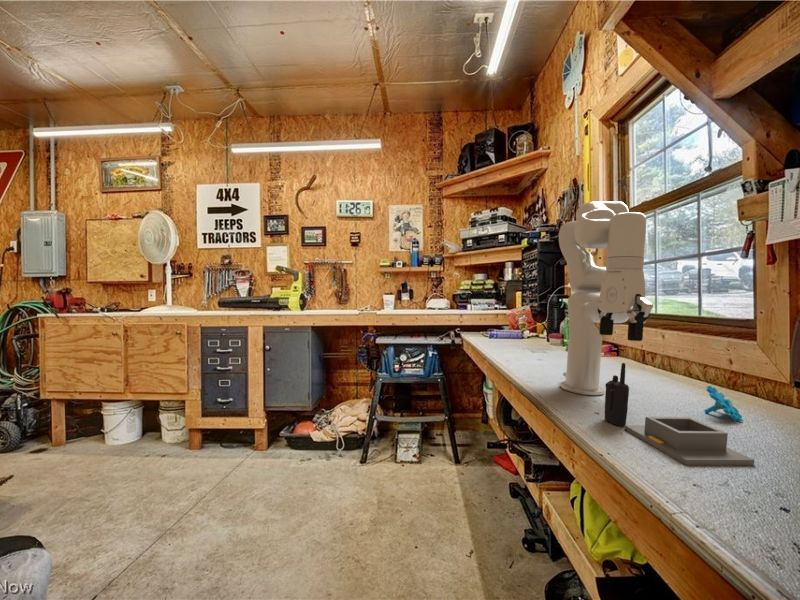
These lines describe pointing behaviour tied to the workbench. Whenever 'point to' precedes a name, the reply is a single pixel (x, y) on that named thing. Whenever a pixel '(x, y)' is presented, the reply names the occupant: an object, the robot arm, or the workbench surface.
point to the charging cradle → (689, 441)
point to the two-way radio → (617, 399)
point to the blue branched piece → (722, 404)
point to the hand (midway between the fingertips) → (619, 337)
